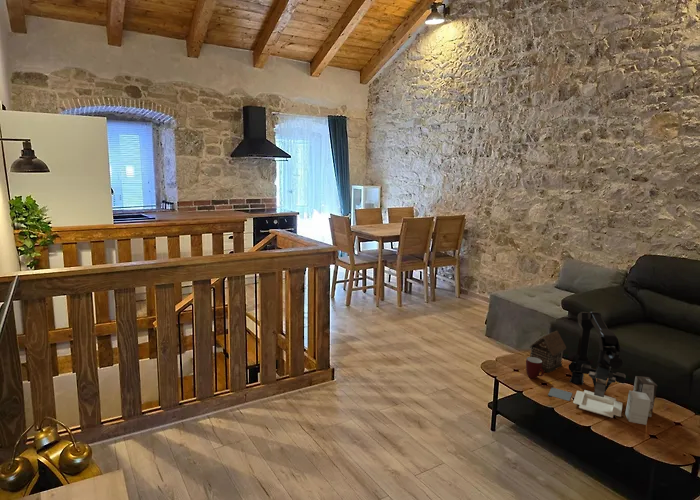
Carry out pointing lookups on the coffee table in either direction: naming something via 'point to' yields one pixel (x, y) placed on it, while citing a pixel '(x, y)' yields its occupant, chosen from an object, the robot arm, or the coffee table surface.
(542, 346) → the model building
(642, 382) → the coffee box
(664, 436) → the coffee table surface
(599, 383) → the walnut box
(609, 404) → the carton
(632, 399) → the supplement box
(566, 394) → the slate mat
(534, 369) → the mug
